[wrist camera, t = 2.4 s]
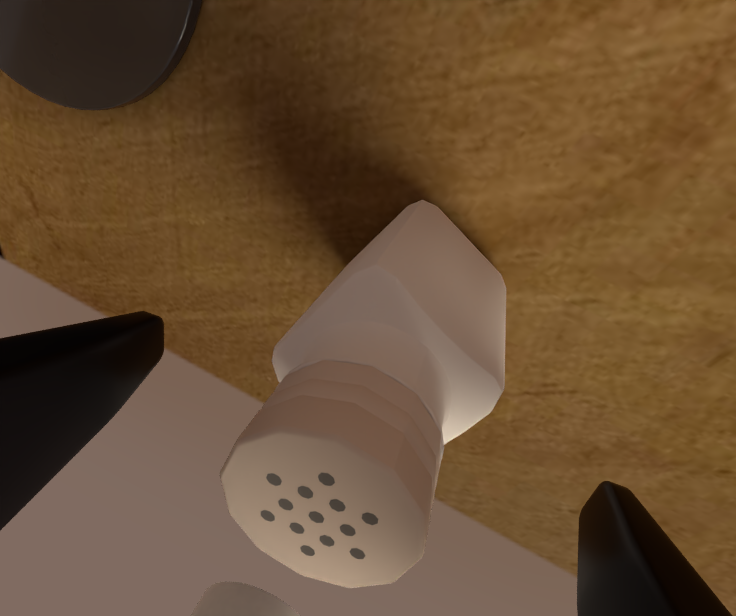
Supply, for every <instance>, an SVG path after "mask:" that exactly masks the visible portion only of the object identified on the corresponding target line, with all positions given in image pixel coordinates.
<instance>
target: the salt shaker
mask: <svg viewBox="0 0 736 616" xmlns="http://www.w3.org/2000/svg"><path fill="white" fill-rule="evenodd" d="M505 323H506V286H505V284H504V281H503V278H502V275H501V274H500V273H499V272H498V271H497V269H496V268H495V267H494V266H493V265H492V264H491V263H490V262H489V261H488V260H487V259H486V258H485V257H484V256H483V254H482V253H481V252H480V251H479V250H478V249H477V248H476V247H475V246H474V245H473V244H472V243H471V242H470V241H469V240H468V239H467V237H466V236H465V235H464V234H463V233H462V232H461V231H460V230H459V229H458V228H457V227H456V226H455V225H454V224H453V223H452V221H451V220H450V219H449V218H448V217H447V216H446V215H445V214H444V213H443V212H442V211H441V210H440V209H439V208H438V207H437V206H436V205H433V204H431V203H429V202H427V201H424V200H421V201H418V202H415V203H413V204H410V205H408V206H407V207H406V208H405V209H404V210H403V211H402V212H401V213H400V214H399V215H398V216H397V217H396V218H395V219H394V220H393V221H392V222H391V223H390V224H388V225H387V226H386V227H385V228H384V229H383V230H382V231H381V232H380V233H379V234H378V235H377V236H376V237H375V238H374V239H373V240H372V241H371V242H370V243H369V244H368V245H367V246H366V247H365V248H364V249H363V250H362V251H361V252H360V253H359V254H358V255H357V256H356V257H355V258H354V259H353V260H352V261H351V262H350V263H348V265H347V266H346V267H345V268H344V269H343V270H342V271H341V272H340V274H339V275H338V276H337V277H336V278H335V279H334V280H333V281H332V283H331V284H330V285H329V286H328V287H327V288H326V289H325V290H324V291H323V293H322V294H321V295H320V296H319V297H318V298H317V299H316V300H315V302H314V303H313V304H312V305H311V306H310V307H309V308H308V309H307V311H306V312H305V313H304V314H303V315H302V316H301V317H300V318H299V320H298V321H297V322H296V323H295V324H294V325H293V326H292V327H291V329H290V330H289V331H288V332H287V333H286V334H285V335H284V336H283V338H282V339H281V340H280V341H279V342H278V343H277V344H276V345H275V348H274V351H273V357H272V363H273V366H274V369H275V372H276V375H277V379H278V381H279V382H280V383H279V385H278V386H277V387H276V389H275V391H274V393H273V394H271V396H270V397H269V398H268V400H267V401H266V402H265V404H264V405H263V407H262V409H261V410H260V411H259V412H258V413H257V414H256V415H255V417H254V418H253V419H252V421H251V422H250V423H249V425H248V426H247V427H246V429H245V430H244V431H243V432H242V434H241V435H240V436H239V438H238V439H237V441H236V443H235V444H234V446H233V448H232V450H231V452H230V454H229V456H228V458H227V460H226V462H225V464H224V466H223V467H222V469H221V471H220V478H221V482H222V486H223V490H224V495H225V499H226V502H227V507H228V511H229V514H230V515H231V516H232V517H233V519H234V520H235V521H236V522H237V523H238V525H239V526H240V527H241V528H242V529H243V531H244V532H245V533H246V534H247V535H248V537H249V538H250V539H251V540H252V541H253V543H254V544H255V545H256V546H257V547H258V548H259V549H260V550H262V551H263V552H265V553H266V554H268V555H270V556H271V557H273V558H274V559H276V560H278V561H279V562H281V563H282V564H284V565H286V566H287V567H289V568H290V569H292V570H294V571H295V572H297V573H298V574H300V575H302V576H306V577H309V578H313V579H317V580H321V581H325V582H328V583H332V584H336V585H340V586H343V587H347V588H355V587H363V586H372V585H381V584H389V583H394V581H396V580H397V579H398V578H399V577H400V576H402V575H403V574H404V573H405V572H406V571H407V570H409V569H410V568H411V567H412V566H413V565H414V564H416V563H417V562H418V561H419V560H420V559H421V558H422V557H423V555H424V550H425V544H426V539H427V534H428V528H429V523H430V517H431V510H432V506H433V501H434V495H435V489H436V484H437V479H438V474H439V468H440V463H441V459H442V455H443V451H444V444H446V443H447V442H449V441H451V440H452V439H454V438H455V437H457V436H459V435H460V434H462V433H463V432H465V431H466V430H468V429H469V428H470V427H472V426H473V425H474V424H476V423H477V422H478V421H480V420H481V419H482V418H484V417H485V416H487V415H488V414H489V413H491V411H492V410H493V408H494V406H495V404H496V403H497V401H498V399H499V397H500V396H501V394H502V392H503V390H504V379H505Z"/></svg>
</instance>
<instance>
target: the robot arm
mask: <svg viewBox="0 0 736 616" xmlns="http://www.w3.org/2000/svg"><path fill="white" fill-rule="evenodd" d="M163 352H164V322H163V320H162V318H160V317H159V316H157V315H154V314H151V313H148V312H145V311H140V312H135V313H129V314H124V315H119V316H114V317H109V318H104V319H99V320H93V321H88V322H83V323H78V324H73V325H67V326H63V327H57V328H52V329H47V330H42V331H36V332H31V333H26V334H21V335H16V336H11V337H5V338H0V530H1V529H2V528H3V527H4V526H5V525H6V524H7V523H8V522H9V521H10V520H11V519H12V518H13V517H14V516H15V515H16V514H17V513H18V512H19V511H20V510H21V509H22V508H23V507H24V506H25V505H26V504H27V503H28V502H29V501H30V500H31V499H32V498H33V497H34V496H35V495H36V494H37V493H38V492H39V491H40V490H41V489H42V488H43V487H44V486H45V485H46V484H47V483H48V482H49V481H50V480H51V479H52V478H53V477H54V476H55V475H56V474H57V473H58V472H59V471H60V470H61V469H62V468H63V467H64V466H65V465H66V464H67V463H68V462H69V461H70V460H71V459H72V458H73V457H74V456H75V455H76V454H77V453H78V452H79V451H80V450H81V449H82V448H83V447H84V446H85V445H86V444H87V443H88V442H89V441H90V440H91V439H92V438H93V437H94V436H95V435H96V434H97V433H98V432H99V431H100V430H101V429H102V428H103V427H104V426H105V425H106V424H107V423H108V422H109V421H110V420H111V419H112V418H113V417H114V415H115V414H116V413H117V412H118V411H119V409H121V407H122V406H123V405H124V404H125V402H126V401H127V400H128V399H129V398H130V396H131V395H132V394H133V393H134V391H135V390H136V389H137V388H138V387H139V385H140V384H141V383H142V382H143V380H144V379H145V378H146V377H147V375H148V374H149V373H150V372H151V370H152V369H153V368H154V367H155V366H156V364H157V363H158V362H159V361H160V359H161V357H162V355H163ZM577 610H578V616H732V615H731V614H730V612H729V611H728V610H727V609H726V607H725V606H724V605H723V604H722V603H721V601H720V600H719V599H718V598H717V596H716V595H715V594H714V593H713V591H712V590H711V589H710V588H709V587H708V585H707V584H706V583H705V582H704V580H703V579H702V578H701V577H700V575H699V574H698V573H697V572H696V571H695V569H694V568H693V567H692V566H691V564H690V563H689V562H688V561H687V559H686V558H685V557H684V556H683V555H682V553H681V552H680V551H679V550H678V548H677V547H676V546H675V545H674V543H673V542H672V541H671V540H670V539H669V537H668V536H667V535H666V534H665V532H664V531H663V530H662V529H661V527H660V526H659V525H658V524H657V522H656V521H655V520H654V519H653V518H652V516H651V515H650V514H649V513H648V511H647V510H646V509H645V508H644V506H643V505H642V504H641V503H640V502H639V500H638V499H637V498H636V497H635V495H634V494H633V493H632V492H631V491H630V490H629V489H628V488H626V487H623V486H621V485H618V484H615V483H612V482H610V481H603V482H602V483H600V485H599V486H598V487H597V488H596V490H595V491H594V493H593V494H592V495H591V497H590V498H589V500H588V501H587V502H586V504H585V505H584V507H583V508H582V510H581V513H580V517H579V539H578V577H577Z"/></svg>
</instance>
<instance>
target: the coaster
mask: <svg viewBox="0 0 736 616" xmlns="http://www.w3.org/2000/svg"><path fill="white" fill-rule="evenodd" d="M201 3H202V0H0V69H1V70H2V71H4V72H5V73H6V74H7V75H8V76H10V77H11V78H12V79H13V80H15V81H16V82H17V83H19V84H20V85H22V86H23V87H25V88H26V89H28V90H29V91H31V92H33V93H34V94H36V95H38V96H40V97H42V98H44V99H46V100H48V101H51V102H54V103H57V104H59V105H62V106H65V107H70V108H75V109H80V110H108V109H114V108H120V107H124V106H127V105H129V104H132V103H135V102H137V101H139V100H141V99H142V98H144V97H146V96H147V95H149V94H151V93H152V92H153V91H154V90H155V89H157V88H158V87H159V86H160V85H161V84H162V83H163V82H164V81H165V80H166V79H167V78H168V76H169V75H170V74H171V73H172V72H173V70H174V69H175V68H176V66H177V65H178V63H179V61H180V60H181V58H182V56H183V54H184V53H185V51H186V49H187V47H188V44H189V42H190V39H191V37H192V35H193V32H194V30H195V26H196V23H197V19H198V15H199V12H200V8H201Z"/></svg>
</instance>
